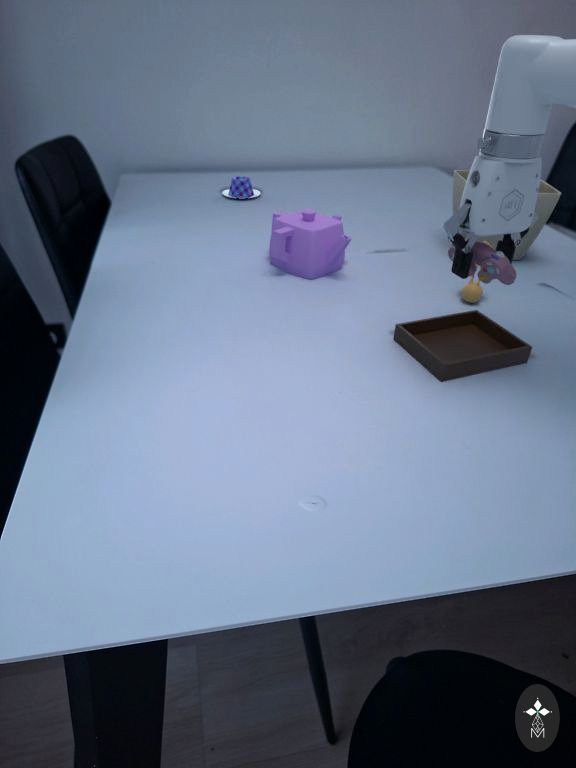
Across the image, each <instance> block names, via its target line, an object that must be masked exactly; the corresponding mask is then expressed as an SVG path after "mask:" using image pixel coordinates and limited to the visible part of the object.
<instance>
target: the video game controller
mask: <svg viewBox="0 0 576 768" xmlns="http://www.w3.org/2000/svg"><path fill="white" fill-rule="evenodd" d="M465 241H467V240H465ZM455 250H456V248H455V247H453V245H451V247H450V248H448V251H447V255H448V258H449V259H450V261H451V262H452V263H453V259H454V255H455ZM470 252H472V253H473V257H472V262H471V266H470V270H469V275H468V277H467V278H471V277H472V275H473V274H474V273H475V274H476V272H477V270H478V269H477V268H478V267H480V266H481V269H479V271H478V272H477V278H478V279H479V280H480V282H481V283H484V284H485V285H486V284H487V285H488V284H490V283H491V282H492V281H493V280H498V281H499V282H500V283H501V284H503V285H505V286H510V285H512V284H514V283H515V281H516V279H517V270H516V269H515V268H514V267H513V265H512V263H510V261H509V259H508V258H507V257H506V256H505V255H504V253H503V252H501V251H496V250H495V249H494V248H492V247H490V246H489V245H488V244H485V243H482V242H475V244H474V246H473V247H472V249H471V250H470ZM475 264H477V265H478V267H477V268H476V265H475ZM475 274H474V275H475Z"/></svg>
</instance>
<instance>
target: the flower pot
mask: <svg viewBox="0 0 576 768" xmlns="http://www.w3.org/2000/svg"><path fill="white" fill-rule="evenodd" d="M470 170H471V169H454V170H453V178H452V216H453V215H454V214H455V213H456V212H457V211H458V210H459V207H460V203H461V199H462V195H463V191H464V188H465V184H466V181H467V178H468V175H469V172H470ZM561 195H562V192H561V191H559V190H558V189H557V188H555V187H554V186H552V185H551V184H549V183H548V182H546V181H545V180H543V179H542V178H541V179H540V186H539V191H538V196H537V201H536V206H535V211H536V213H537V214H538V216H539V217H538V219H537V221H536V222H535V223H534V224H533V225H532V226H531V228H529V231H528V233H527V234H526V235H525V236H524V237H523V238H522V239H521V243H520V245H519V246H515V247H516V249H515V252H514V256H513V259H512V261H520V260H521V259H522V258H523V257H524V256H525V254H526V253H527V252H528V250H529V249H530V248H531V247H532V245H533V244H534V242H535V241H536V239H537V238H538V236H539V235H540V234H541V231H542V230H543V229H544V227H545V225H546V224H547V222H548V220H549V218H550V216H551V215H552V213H553V211H554V209H555V208H556V206H557V204H558V202H559V199H560V198H561ZM458 230H459V232H460V230H461V228H460V227H458ZM469 236H470V233H468V235H467V236H466V238H465V240H467V239H468V237H469ZM499 240H502V236H501V235H496V236H487V237H479V238H478V239H477V241H476V242H482V243H483V242H484V241H487V242H488V243H489V244H490V246H492V247H493V248H494V249H495V250H496V247H497V243H498V241H499ZM502 241H503V240H502Z"/></svg>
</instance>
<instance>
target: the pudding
mask: <svg viewBox="0 0 576 768" xmlns="http://www.w3.org/2000/svg"><path fill="white" fill-rule="evenodd" d="M221 194H222V195H223V196H225V197H228V198H230V199H231V198H232V199H236V198H239V200H246V199H245V198H248V199H252V198H256V197H259V196H260V195H261V191H259V190H257V189H256V188H255V189H254V187H253V183H252V179H251V178H250V176H249V177H248V176H246V175H245V176H243V175H237V176H233V177H231V180H230V184H229V189H225V190H223V191H222V193H221Z"/></svg>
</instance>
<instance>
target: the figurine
mask: <svg viewBox="0 0 576 768" xmlns="http://www.w3.org/2000/svg"><path fill="white" fill-rule="evenodd" d="M483 243H485V244H488V245H489V246H490V244H489V243H488V242H487V241H484V242H483ZM490 247H492V246H490ZM492 248H493V247H492ZM475 265H476V268H478V267H479V270H481V266H479V265H477V264H475ZM475 274H476V272H475V273H474V274H473V275H472V276H470V280H469V282H468V283H466V284H465V285H464V286H463V287H462V289H461V298H462V299H463V300H464V301H465V302H467V303H470V304H473V303H476V302H479V300H480V299H481V298H482V296H483V294H484V293H483V291H484V289H483V287H482V286H481V281H480V280H479V278H478V279H477V281H476V282H474V279H475Z"/></svg>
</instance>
